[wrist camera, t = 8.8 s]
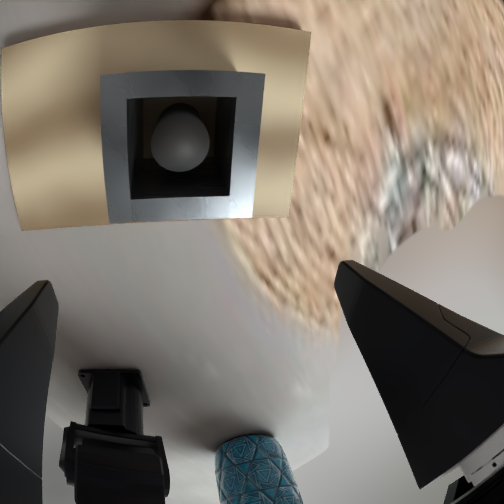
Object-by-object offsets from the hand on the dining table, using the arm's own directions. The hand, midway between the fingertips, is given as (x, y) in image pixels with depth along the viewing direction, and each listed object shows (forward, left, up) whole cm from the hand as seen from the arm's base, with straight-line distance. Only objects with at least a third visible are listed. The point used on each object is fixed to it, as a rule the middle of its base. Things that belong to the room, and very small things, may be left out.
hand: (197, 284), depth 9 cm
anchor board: (+3, +2, -12) cm, 12 cm away
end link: (+3, 0, -11) cm, 11 cm away
